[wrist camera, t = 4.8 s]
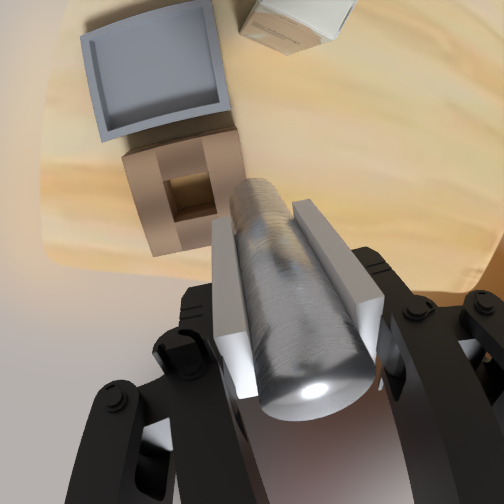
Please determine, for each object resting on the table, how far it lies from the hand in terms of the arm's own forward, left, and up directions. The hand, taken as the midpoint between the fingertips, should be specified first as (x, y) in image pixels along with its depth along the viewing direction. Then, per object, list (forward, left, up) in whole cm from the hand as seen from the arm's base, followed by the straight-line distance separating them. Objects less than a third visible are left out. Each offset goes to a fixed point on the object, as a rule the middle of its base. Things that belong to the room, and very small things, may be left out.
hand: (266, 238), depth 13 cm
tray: (-10, -6, -17) cm, 20 cm away
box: (-12, +5, -17) cm, 21 cm away
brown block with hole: (+2, -5, -17) cm, 18 cm away
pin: (0, 0, -4) cm, 4 cm away
